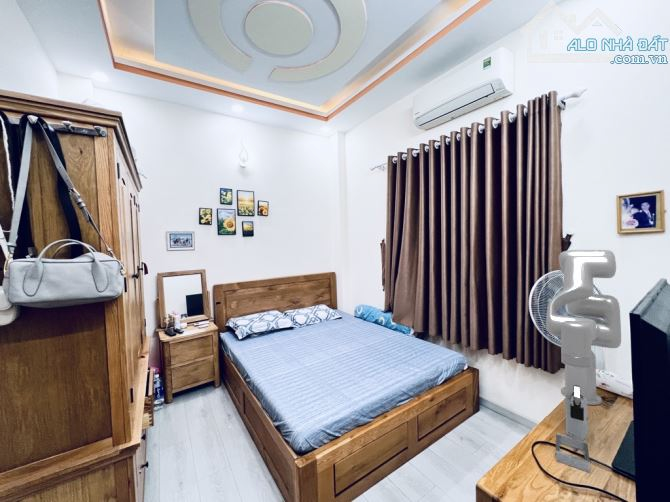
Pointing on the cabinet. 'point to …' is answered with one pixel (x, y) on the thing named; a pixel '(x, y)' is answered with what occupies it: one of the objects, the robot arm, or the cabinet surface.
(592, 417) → the cabinet surface
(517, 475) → the cabinet surface
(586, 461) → the socket collar
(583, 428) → the skincare box
